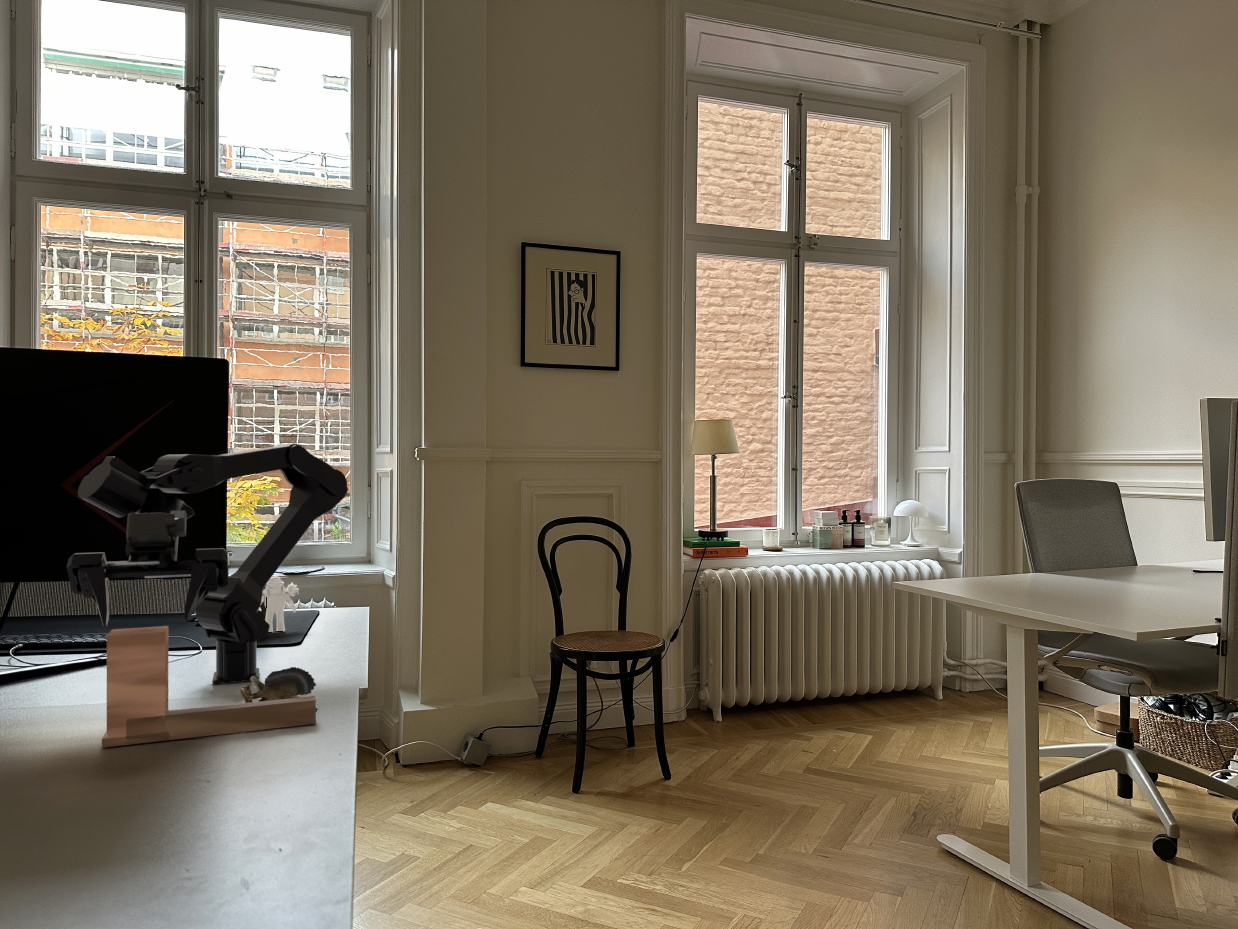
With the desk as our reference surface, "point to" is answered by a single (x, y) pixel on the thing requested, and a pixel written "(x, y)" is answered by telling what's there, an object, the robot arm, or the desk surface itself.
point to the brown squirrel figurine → (280, 685)
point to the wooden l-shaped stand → (144, 698)
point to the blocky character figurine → (277, 601)
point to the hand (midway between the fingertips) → (145, 621)
